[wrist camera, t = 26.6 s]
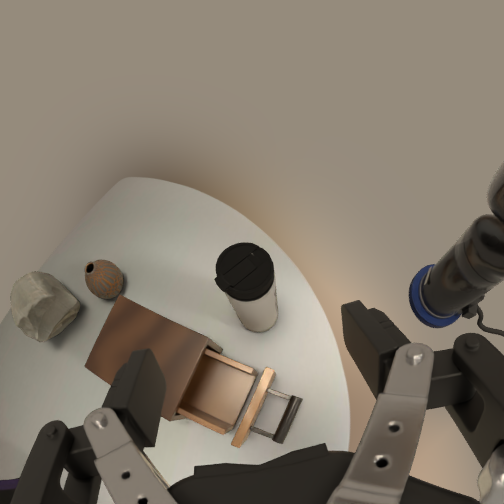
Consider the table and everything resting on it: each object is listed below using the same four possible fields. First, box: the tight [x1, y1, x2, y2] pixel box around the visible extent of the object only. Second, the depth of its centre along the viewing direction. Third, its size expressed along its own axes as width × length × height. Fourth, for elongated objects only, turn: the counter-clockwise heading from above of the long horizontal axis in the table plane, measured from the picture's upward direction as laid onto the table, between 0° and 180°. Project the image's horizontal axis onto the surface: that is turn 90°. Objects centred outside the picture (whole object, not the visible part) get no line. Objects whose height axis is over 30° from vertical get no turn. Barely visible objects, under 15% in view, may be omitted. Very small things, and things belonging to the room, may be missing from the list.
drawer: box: [176, 348, 303, 448], centre depth 40 cm, size 20×12×8 cm, turn 67°
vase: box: [85, 260, 123, 299], centre depth 51 cm, size 7×7×9 cm
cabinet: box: [85, 295, 223, 421], centre depth 43 cm, size 16×13×10 cm
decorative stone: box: [10, 271, 80, 342], centre depth 46 cm, size 12×17×15 cm
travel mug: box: [215, 243, 278, 332], centre depth 41 cm, size 6×7×20 cm
